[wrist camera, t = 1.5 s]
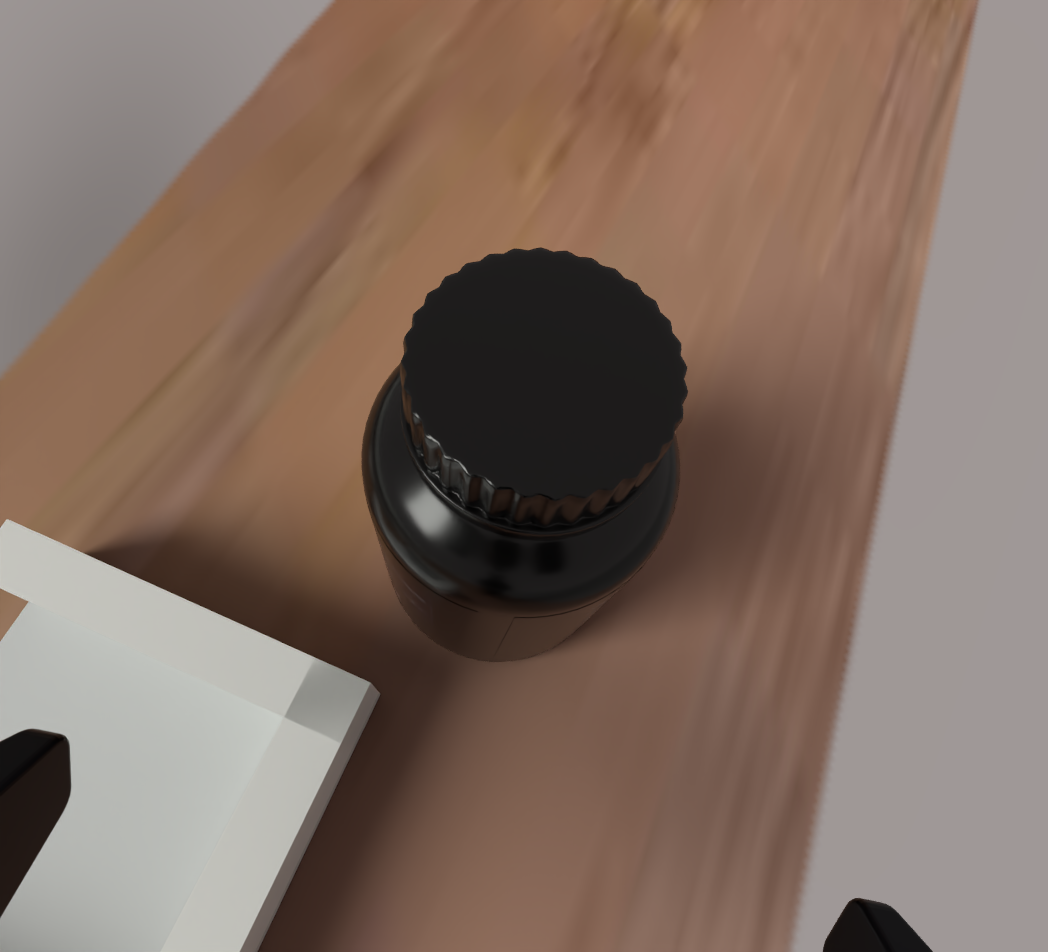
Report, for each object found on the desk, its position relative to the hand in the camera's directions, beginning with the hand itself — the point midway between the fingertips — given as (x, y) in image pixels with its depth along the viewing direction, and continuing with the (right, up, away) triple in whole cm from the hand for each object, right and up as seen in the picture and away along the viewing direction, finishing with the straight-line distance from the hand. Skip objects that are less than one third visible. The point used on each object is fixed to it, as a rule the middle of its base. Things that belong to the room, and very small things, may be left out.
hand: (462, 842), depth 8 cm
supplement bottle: (0, +2, +15) cm, 15 cm away
